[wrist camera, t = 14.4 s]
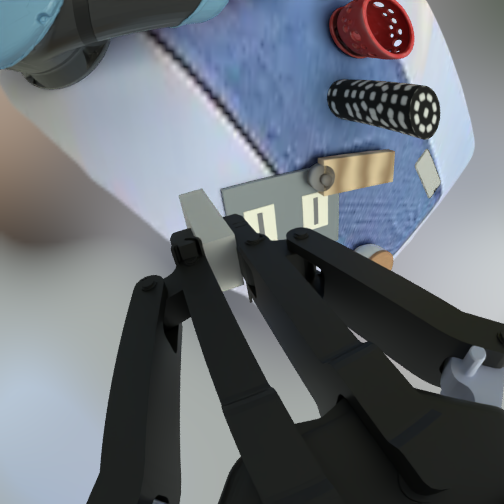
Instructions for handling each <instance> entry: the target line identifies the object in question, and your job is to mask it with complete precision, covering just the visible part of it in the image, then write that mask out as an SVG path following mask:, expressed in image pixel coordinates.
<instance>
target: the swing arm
mask: <svg viewBox="0 0 504 504" xmlns="http://www.w3.org/2000/svg"><path fill="white" fill-rule="evenodd" d="M394 157H395V151H392V150H389V149H385V150H375V151H366V152H358V153H350V154H342V155H335V156H328V157H321V158H318V163H316V164H314V165H313V166H311V168H310V169H309V171H308V173H307V182H308V184H309V185H310V186H311V187H312V188H314V189H316V190H317V191H318V193H319V194H321V195H323V196H328V195H332V194H337V193H341V192H346V191H350V190H355V189H360V188H364V187H369V186H374V185H378V184H383V183H388V182H393V172H394Z"/></svg>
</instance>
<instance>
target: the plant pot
mask: <svg viewBox="0 0 504 504" xmlns="http://www.w3.org/2000/svg"><path fill="white" fill-rule="evenodd" d="M374 2H381V3H382V4H384V7H378V6H376V5H375V4H374ZM388 9H391V10H392V11H393V12H394V13H390V12H389V11H388ZM383 13H386V14H387V16H385V15H383ZM392 18H395V19H396V21H397V23H393V22H392ZM390 25H392V26H393V29H390V27H389V26H390ZM329 27H330V33H331V36H332V38H333V40H334V42H335V43H336V45H337V46H338V47H339V48H340V49H341V50H342V51H343V52H344V53H346V54H348V55H349V56H352V57H355V58H366V57H370V58H379V59H401V58H404V57H406V56H408V55H409V54H410V52H411V51H412V49H413V45H414V31H413V27H412V24H411V21H410V19H409V17H408V15H407V13H406V12H405V10H404V9H403V7H402V6H401V5H400V4H399V3H398V2H397V1H396V0H353V1H351V2H350V3H348V4H347V5H346V6H344V7H340V8H338V9H336V10H335V11H334V12H333V14H332V15H331V17H330V22H329ZM399 29H401V30H402V34H401V35H400V34H399V33H398V30H399ZM391 34H394V36H393V38H391V36H390V35H391ZM396 40H401V41H402V43H401V44H400V45H399V46H397V47H395V46H394V43H395V41H396ZM389 51H391V52H389ZM397 51H399V52H397ZM396 52H397V53H396Z"/></svg>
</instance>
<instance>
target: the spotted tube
mask: <svg viewBox="0 0 504 504" xmlns="http://www.w3.org/2000/svg"><path fill="white" fill-rule="evenodd" d="M327 100H328V105H329V108H330V110H331V111H332V113H333V114H334V115H335V116H336V117H338V118H341V119H345V120H350V121H355V122H359V123H364V124H368V125H373V126H377V127H381V128H385V129H389V130H392V131H396V132H400V133H403V134H407V135H410V136H414V137H417V138H420V139H429V138H431V137H432V136H433V135H434V133H435V132H436V130H437V128H438V125H439V121H440V105H439V101H438V98H437V96H436V94H435V92H434V91H433V90H432V89H431V88H429V87H427V86H422V85H415V84H407V83H397V82H386V81H372V80H348V79H342V80H338V81H336V82H334V83H333V84H332V85H331V87H330V88H329V91H328V96H327Z"/></svg>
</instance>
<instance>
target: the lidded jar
mask: <svg viewBox="0 0 504 504" xmlns="http://www.w3.org/2000/svg"><path fill="white" fill-rule="evenodd" d="M354 251H355V252H357V253H359V254H361V255H363V256H365V257H367V258H368V259H370V260H372V261H374V262H376V263H378V264H380V265H381V266H383V267H385V268H387V269H389V270H391V269H392V266H393V256H392V254H391V253H390V252H388V251H386V250H385V249H383V248H382V247H380V246H378V245H375V244H366V245H361V246H359V247H357V248H356V249H355V250H354Z"/></svg>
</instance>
